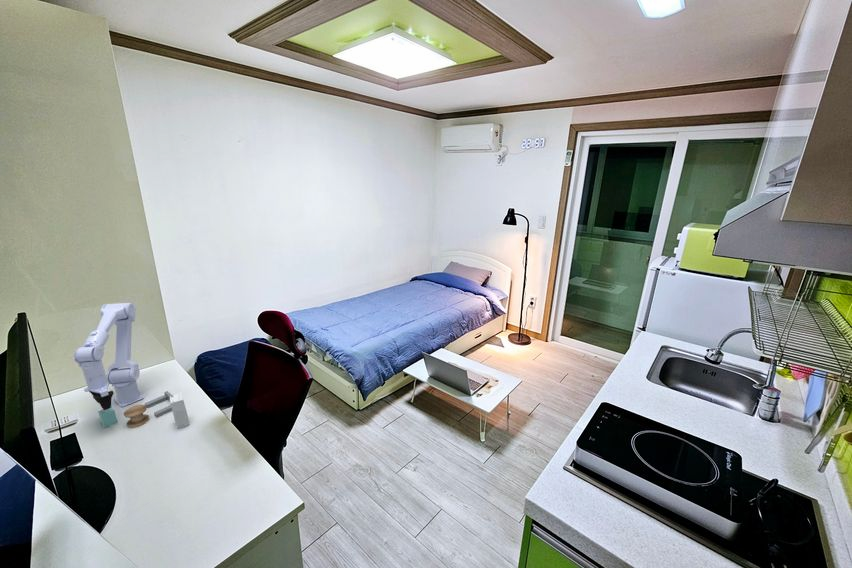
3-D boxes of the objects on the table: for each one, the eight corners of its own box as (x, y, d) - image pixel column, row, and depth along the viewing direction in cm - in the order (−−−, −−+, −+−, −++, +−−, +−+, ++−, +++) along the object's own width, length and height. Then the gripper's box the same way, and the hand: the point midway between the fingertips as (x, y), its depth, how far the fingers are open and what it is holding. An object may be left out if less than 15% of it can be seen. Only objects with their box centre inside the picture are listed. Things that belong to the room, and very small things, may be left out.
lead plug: (101, 424, 138) (97, 410, 136) (114, 418, 141) (110, 405, 139) (104, 428, 136) (100, 414, 134) (117, 422, 139) (113, 408, 137)
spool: (124, 422, 139) (121, 411, 137) (145, 413, 144) (142, 402, 142) (130, 430, 135) (127, 418, 133) (152, 420, 140) (149, 408, 139)
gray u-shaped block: (145, 406, 149) (143, 400, 148) (168, 396, 155) (167, 390, 155) (156, 417, 142) (155, 411, 141) (180, 406, 149) (179, 401, 148)
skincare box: (189, 424, 139) (184, 399, 135) (176, 429, 136) (170, 403, 132) (188, 416, 143) (182, 392, 139) (174, 421, 140) (169, 396, 137)
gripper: (75, 373, 132) (85, 403, 136) (86, 386, 125) (96, 417, 129) (99, 365, 138) (108, 394, 142) (111, 377, 130) (120, 408, 134)
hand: (104, 405), depth 136 cm, fingers open, 7 cm apart
